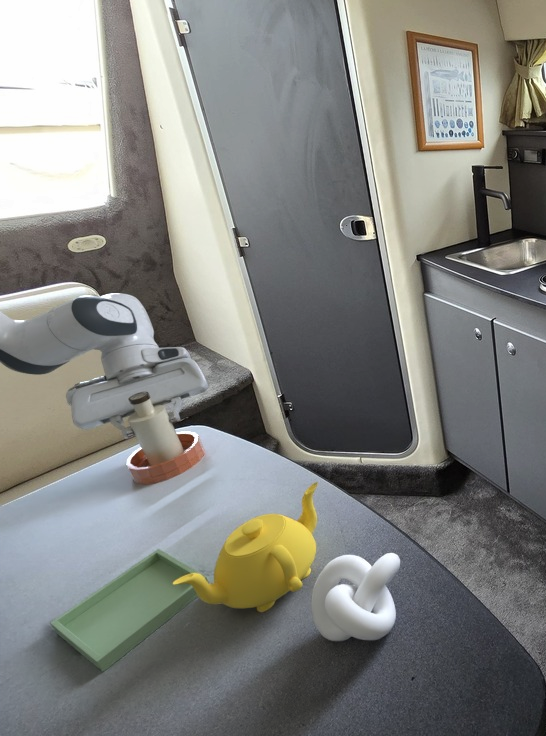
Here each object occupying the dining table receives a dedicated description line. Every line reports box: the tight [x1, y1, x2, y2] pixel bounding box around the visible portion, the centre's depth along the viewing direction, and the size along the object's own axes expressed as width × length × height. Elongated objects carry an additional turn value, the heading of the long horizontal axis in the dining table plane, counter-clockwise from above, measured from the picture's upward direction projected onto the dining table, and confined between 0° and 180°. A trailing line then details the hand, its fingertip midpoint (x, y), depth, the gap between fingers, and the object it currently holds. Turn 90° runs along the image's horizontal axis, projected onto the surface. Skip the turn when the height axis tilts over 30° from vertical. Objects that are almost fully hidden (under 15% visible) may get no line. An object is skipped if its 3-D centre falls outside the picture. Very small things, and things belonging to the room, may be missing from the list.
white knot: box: [310, 552, 401, 642], centre depth 68 cm, size 11×12×9 cm
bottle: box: [127, 392, 186, 466], centre depth 98 cm, size 6×6×17 cm
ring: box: [125, 431, 205, 485], centre depth 100 cm, size 11×12×5 cm
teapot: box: [173, 481, 319, 613], centre depth 74 cm, size 20×15×12 cm
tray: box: [49, 548, 210, 673], centre depth 73 cm, size 13×13×2 cm
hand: (153, 428), depth 97 cm, fingers closed on bottle, 5 cm apart
